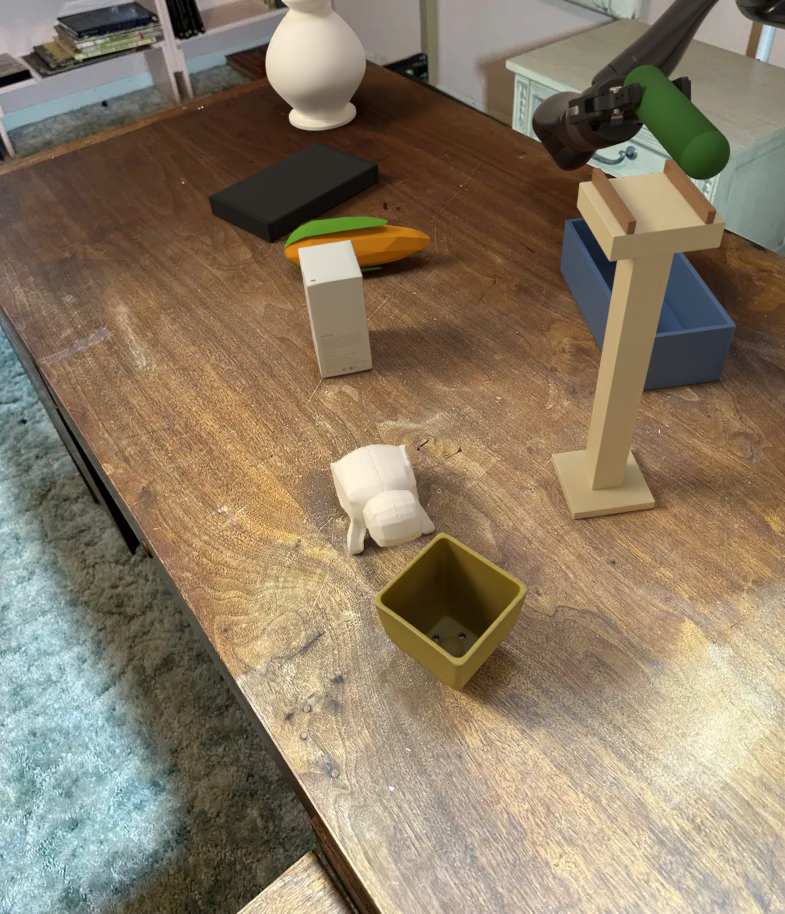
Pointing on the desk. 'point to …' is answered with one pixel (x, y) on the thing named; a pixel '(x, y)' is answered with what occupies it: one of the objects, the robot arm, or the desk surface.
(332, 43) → the decorative vase
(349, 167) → the external hard drive
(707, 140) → the green cylinder
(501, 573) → the flower pot
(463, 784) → the desk surface
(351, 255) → the small box
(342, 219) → the corn
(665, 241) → the wooden cradle stand
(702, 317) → the open box
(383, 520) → the white animal figurine
